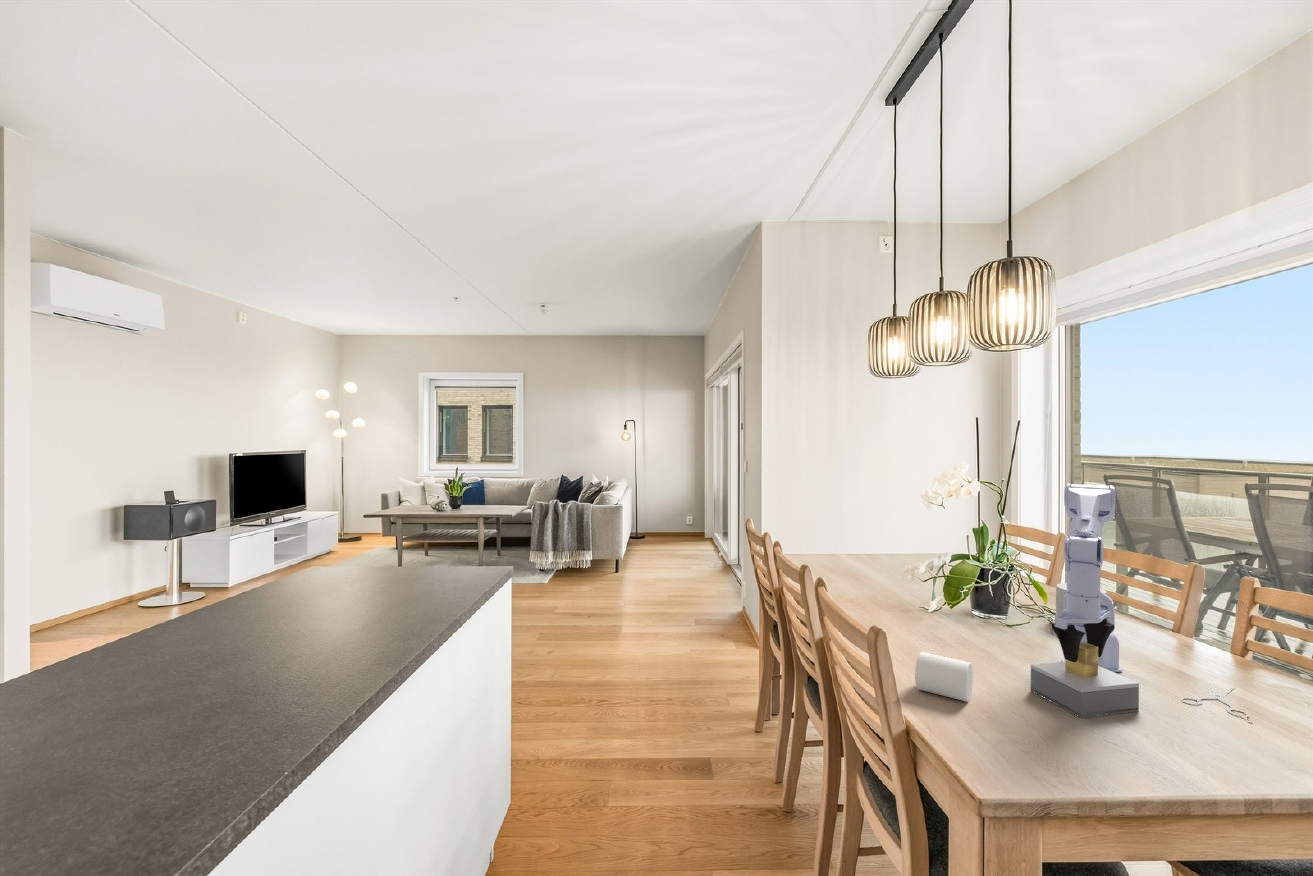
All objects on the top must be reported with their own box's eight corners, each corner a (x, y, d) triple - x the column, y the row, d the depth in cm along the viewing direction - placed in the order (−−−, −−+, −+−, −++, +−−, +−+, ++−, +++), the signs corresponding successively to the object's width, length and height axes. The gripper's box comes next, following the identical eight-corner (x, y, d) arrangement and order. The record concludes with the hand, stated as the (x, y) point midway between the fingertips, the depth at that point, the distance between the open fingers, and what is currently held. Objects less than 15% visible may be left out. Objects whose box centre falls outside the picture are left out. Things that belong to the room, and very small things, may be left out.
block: (1078, 667, 123) (1078, 640, 123) (1097, 675, 120) (1098, 646, 120) (1065, 670, 122) (1065, 642, 122) (1085, 678, 118) (1085, 649, 118)
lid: (1084, 663, 128) (1084, 659, 128) (1138, 687, 116) (1138, 683, 116) (1030, 668, 125) (1030, 664, 125) (1081, 692, 113) (1081, 688, 113)
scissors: (1178, 703, 119) (1190, 674, 132) (1178, 706, 119) (1190, 677, 132) (1252, 722, 111) (1256, 690, 124) (1252, 726, 111) (1256, 693, 124)
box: (1084, 685, 128) (1084, 663, 128) (1138, 711, 116) (1138, 687, 116) (1030, 691, 125) (1030, 668, 125) (1080, 718, 113) (1081, 693, 113)
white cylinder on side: (966, 708, 118) (966, 670, 118) (914, 694, 124) (914, 658, 124) (976, 687, 127) (976, 652, 127) (927, 675, 133) (927, 641, 133)
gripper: (1086, 585, 127) (1086, 646, 127) (1040, 592, 122) (1040, 655, 122) (1121, 594, 120) (1121, 658, 120) (1074, 601, 115) (1074, 668, 115)
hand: (1082, 657), depth 120 cm, fingers open, 7 cm apart
